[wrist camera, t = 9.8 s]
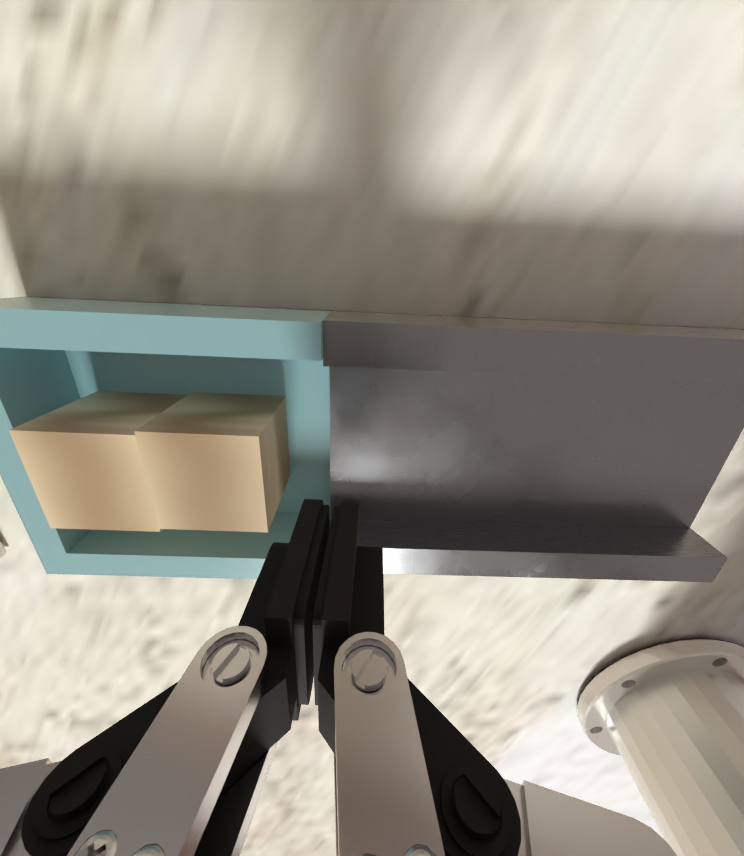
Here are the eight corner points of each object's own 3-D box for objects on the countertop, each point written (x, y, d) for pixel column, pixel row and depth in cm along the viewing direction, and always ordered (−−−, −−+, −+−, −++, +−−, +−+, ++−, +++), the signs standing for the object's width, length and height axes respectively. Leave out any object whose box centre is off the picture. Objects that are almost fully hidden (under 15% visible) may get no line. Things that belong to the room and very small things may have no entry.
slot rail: (766, 330, 14) (861, 344, 12) (662, 536, 19) (712, 581, 16) (331, 310, 14) (322, 320, 11) (332, 527, 18) (326, 571, 16)
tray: (331, 310, 14) (320, 322, 11) (332, 527, 18) (325, 580, 15) (25, 296, 14) (-81, 304, 10) (103, 520, 18) (46, 573, 15)
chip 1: (192, 395, 15) (134, 435, 11) (206, 474, 16) (160, 531, 13) (97, 390, 15) (8, 430, 11) (121, 471, 16) (50, 528, 13)
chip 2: (285, 396, 15) (258, 436, 11) (290, 475, 17) (267, 532, 13) (192, 391, 15) (134, 431, 11) (206, 471, 16) (159, 528, 13)
